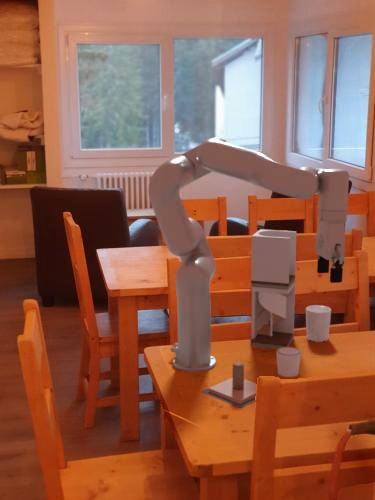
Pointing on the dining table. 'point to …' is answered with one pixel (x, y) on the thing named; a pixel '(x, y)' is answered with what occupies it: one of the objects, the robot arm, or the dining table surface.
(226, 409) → the dining table surface
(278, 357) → the shot glass
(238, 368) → the lid
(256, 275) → the white coffee machine
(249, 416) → the dining table surface
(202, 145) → the robot arm
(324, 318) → the white cup
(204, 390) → the mat
